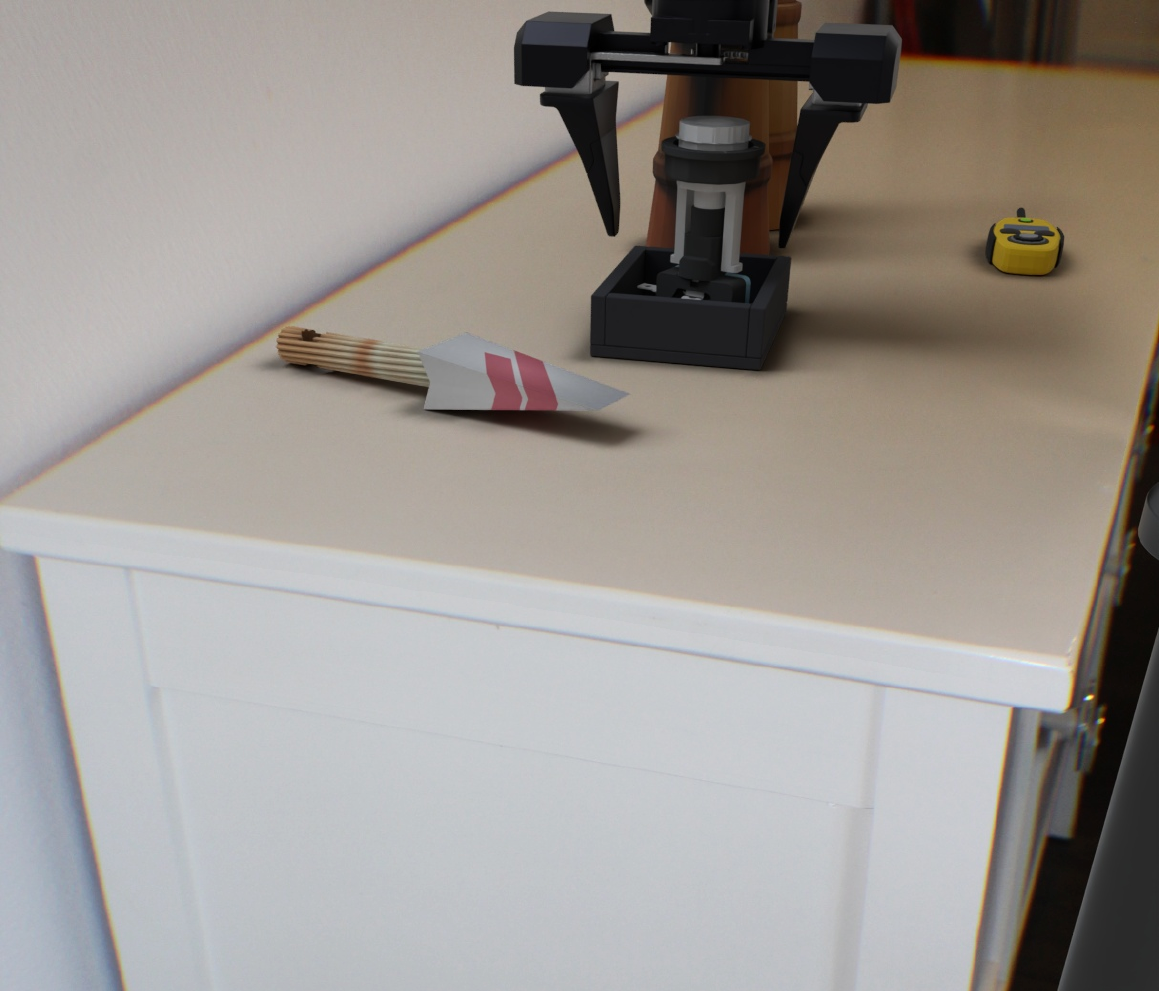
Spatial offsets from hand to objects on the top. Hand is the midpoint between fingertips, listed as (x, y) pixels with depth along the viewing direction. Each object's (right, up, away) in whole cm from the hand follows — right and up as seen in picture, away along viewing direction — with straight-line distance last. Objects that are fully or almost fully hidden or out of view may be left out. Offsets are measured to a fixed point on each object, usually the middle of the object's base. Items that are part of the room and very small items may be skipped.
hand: (697, 241), depth 76 cm
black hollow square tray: (0, -4, +3) cm, 5 cm away
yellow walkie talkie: (+23, +8, +20) cm, 32 cm away
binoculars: (+4, +10, +22) cm, 25 cm away
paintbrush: (-13, -11, -6) cm, 18 cm away
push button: (0, -4, +3) cm, 4 cm away
